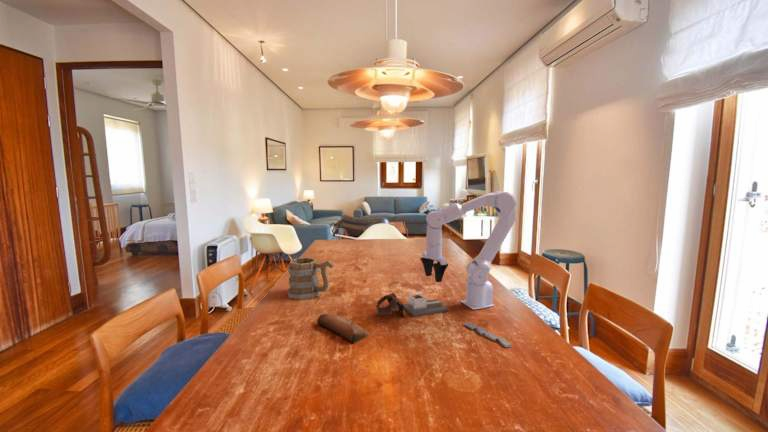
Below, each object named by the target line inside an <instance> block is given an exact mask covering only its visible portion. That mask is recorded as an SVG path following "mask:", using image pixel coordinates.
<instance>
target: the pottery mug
mask: <svg viewBox="0 0 768 432" xmlns="http://www.w3.org/2000/svg"><path fill="white" fill-rule="evenodd" d="M385 301H387V303H388V305H386V306H384V307H380V306H381V305H382V303H384V302H385ZM403 304H404V303H403V302H402V300H400V298H398V297H397V295H396V294H395V293H390V294H385V295H383V296H382V297H381V298H379V299H378V301H377V304H376V314H377V315H378V316H383V315H393V312H392V311H393V310H397V311H398V312H402V314H403V317H404V318H406V316H407V314H406V310H405V309H404V306H403ZM392 309H393V310H392Z"/></svg>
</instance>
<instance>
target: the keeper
mask: <svg viewBox="0 0 768 432" xmlns="http://www.w3.org/2000/svg"><path fill="white" fill-rule="evenodd" d="M402 304H403V306H404V309H405V312H407V313H408V314H409V315H410V316H411V317H420V316H426V315H431V314H438V313H444V312H449V307H447V306H445V305H444V304H443V302H442V301H441V300H437V299H430V300H428V299H427V309H424V310H418V311H413V310H412V309H411V308H410V307H409V306H408V303H402Z"/></svg>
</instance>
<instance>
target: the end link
mask: <svg viewBox="0 0 768 432" xmlns="http://www.w3.org/2000/svg"><path fill="white" fill-rule="evenodd" d="M407 298H408V299H407V304H408V306H409V307H410V308H411V309H412V310H413V311H418V310H424V309H427V301H428V298H427V297H426V296H425V295H423V294H422V293H415V294H408V297H407Z"/></svg>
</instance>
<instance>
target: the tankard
mask: <svg viewBox="0 0 768 432" xmlns="http://www.w3.org/2000/svg"><path fill="white" fill-rule="evenodd" d="M334 266H335V264H334V263H333V262H331V261H330V260H326V261H325V262H322V263H319V262H318V261H317V260H316V258H313V257H296V258H292V259H290V261H289V266H288V268H287V269H288V271H287V272H288V274H289V278H288V285H289V287H290V288H288V289H287V290H286V292H287V296H288V298H289V299H293V300H299V301H301V300H309V299H314V298H316V297H317V296H319V295H320V294H321V293H323V292H324V293H326V292H327V290H328V288H329V286H330V279H329V276H328V274H327V267H329V268H330V269H332V268H333V267H334ZM319 269H320V275H321V277H322V281H323V285H322V286H321V285H319V283H320V282H319V281H320V280H319V277H318V273H319Z"/></svg>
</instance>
